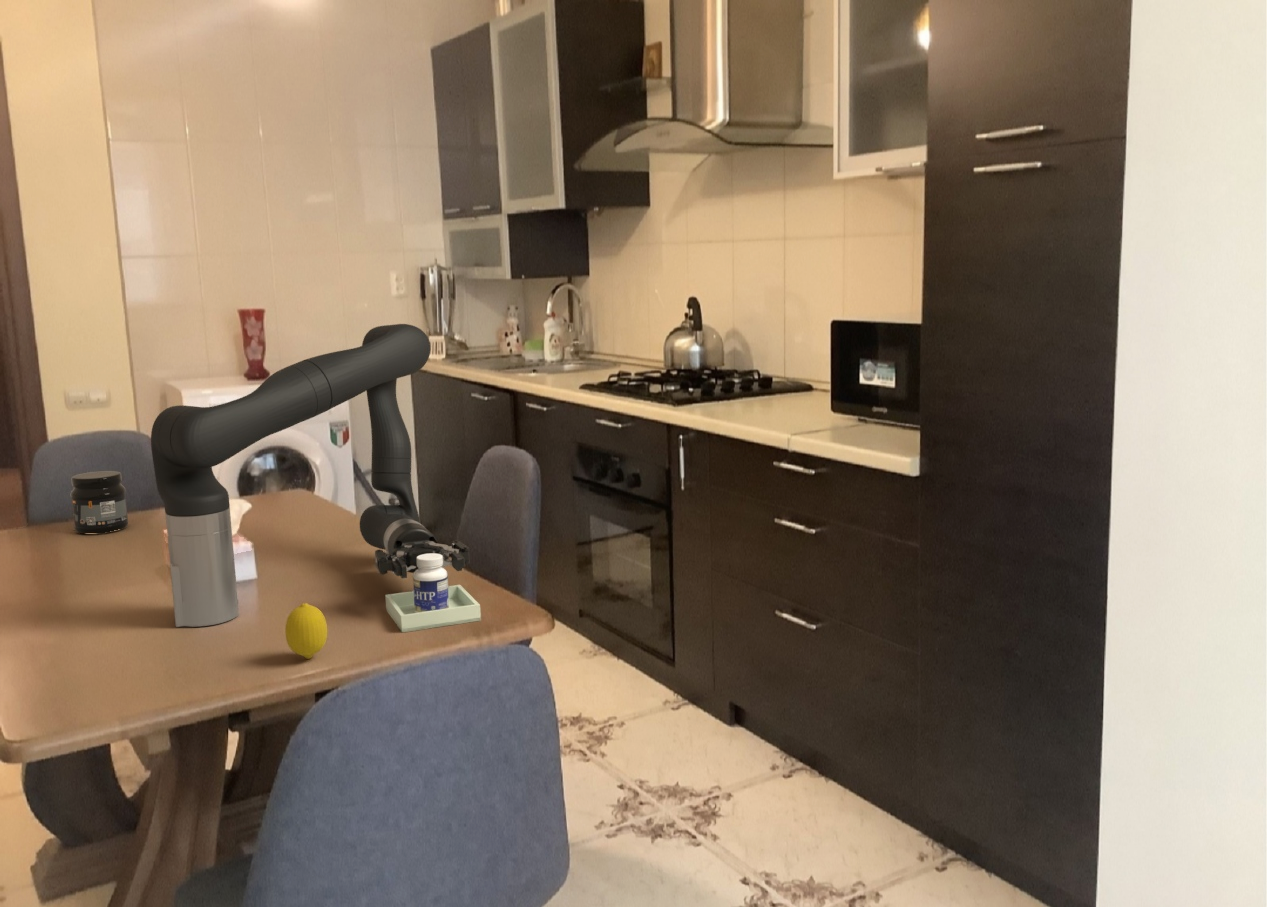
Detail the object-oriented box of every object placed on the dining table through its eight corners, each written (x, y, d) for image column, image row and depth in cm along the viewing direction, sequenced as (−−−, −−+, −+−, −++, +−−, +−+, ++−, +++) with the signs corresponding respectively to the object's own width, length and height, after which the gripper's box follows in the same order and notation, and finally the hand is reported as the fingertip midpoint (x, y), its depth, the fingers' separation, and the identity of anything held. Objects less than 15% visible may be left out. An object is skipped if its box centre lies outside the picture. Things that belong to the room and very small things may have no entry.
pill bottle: (407, 615, 164) (404, 559, 162) (426, 605, 168) (423, 550, 167) (437, 618, 162) (434, 562, 160) (455, 608, 166) (453, 553, 165)
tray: (402, 632, 157) (401, 616, 157) (386, 610, 168) (385, 594, 168) (480, 620, 162) (480, 604, 162) (460, 599, 173) (459, 584, 172)
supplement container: (95, 523, 233) (89, 470, 231) (139, 524, 232) (134, 470, 230) (63, 535, 223) (57, 479, 221) (109, 536, 221) (103, 479, 219)
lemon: (317, 667, 144) (313, 610, 143) (279, 664, 145) (275, 608, 144) (336, 652, 149) (332, 598, 148) (300, 650, 150) (296, 596, 149)
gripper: (365, 527, 173) (384, 550, 159) (450, 517, 179) (476, 538, 164) (367, 572, 175) (387, 598, 160) (452, 561, 180) (479, 585, 165)
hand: (432, 568), depth 162 cm, fingers open, 8 cm apart
